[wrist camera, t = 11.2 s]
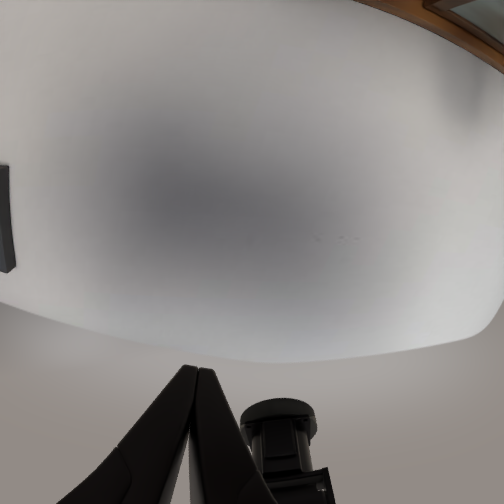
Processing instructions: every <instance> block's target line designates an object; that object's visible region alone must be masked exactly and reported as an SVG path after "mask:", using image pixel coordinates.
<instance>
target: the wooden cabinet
mask: <svg viewBox="0 0 504 504" xmlns="http://www.w3.org/2000/svg"><path fill="white" fill-rule="evenodd" d="M354 1H357V2H360V3H363V4H366V5H369V6H372V7H375V8H378V9H380V10H383V11H386V12H388V13H391V14H393V15H396V16H398V17H401V18H403V19H405V20H408V21H410V22H412V23H415V24H417V25H419V26H421V27H423V28H425V29H427V30H430V31H432V32H434V33H436V34H438V35H440V36H442V37H443V38H445V39H447V40H449V41H451V42H453V43H455V44H456V45H458V46H460V47H462V48H464V49H465V50H467V51H469V52H470V53H472V54H474V55H475V56H477V57H479V58H480V59H482V60H483V61H485V62H486V63H488V64H490V65H491V66H493V67H494V68H496V69H497V70H498V71H500V72H501V73H503V74H504V55H503V54H502V53H500V52H499V51H498V50H496V49H495V48H493V47H492V46H490V45H489V44H488V43H486V42H485V41H483V40H481V39H480V38H478V37H477V36H475V35H474V34H472V33H470V32H469V31H467V30H465V29H464V28H462V27H460V26H459V25H457V24H455V23H453V22H452V21H450V20H448V19H446V18H444V17H443V16H441V15H439V14H437V13H435V12H433V11H431V10H429V9H427V8H425V0H354Z"/></svg>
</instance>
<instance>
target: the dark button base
mask: <svg viewBox="0 0 504 504" xmlns="http://www.w3.org/2000/svg"><path fill="white" fill-rule="evenodd" d="M15 266H16V264H15V257H14V250H13V242H12V233H11V222H10V209H9V186H8V166H1V165H0V272H4V273H9V272H10V271H11V270H12V269H13V268H14V267H15Z"/></svg>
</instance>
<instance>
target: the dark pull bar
mask: <svg viewBox="0 0 504 504" xmlns="http://www.w3.org/2000/svg"><path fill="white" fill-rule="evenodd" d="M425 8H427V9H429V10H431V11H433V12H435V13H437V14H439V15H441V16H443V17H444V18H446V19H448V20H450V21H452V22H453V23H455V24H457V25H459V26H460V27H462V28H464V29H465V30H467V31H469V32H470V33H472V34H474V35H475V36H477V37H478V38H480V39H481V40H483V41H485V42H486V43H488V44H489V45H490V46H492V47H493V48H495V49H496V50H498V51H499V52H500V53H502V54H503V55H504V0H425Z"/></svg>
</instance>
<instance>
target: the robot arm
mask: <svg viewBox="0 0 504 504" xmlns="http://www.w3.org/2000/svg"><path fill="white" fill-rule="evenodd" d="M189 429H190V430H189ZM244 429H245V432H246V435H247V439H248V442H249V445H250V448H251V452H252V455H251V453H250V451H249V448H248V446H247V444H246V442H245V440H244V438H243V436H242V433H241V431H240V429H239V427H238V425H237V422H236V420H235V418H234V416H233V413H232V411H231V409H230V407H229V404H228V402H227V400H226V397H225V395H224V393H223V390H222V388H221V385H220V383H219V381H218V378H217V376H216V373H215V371H214V370H213V369H208V368H202V367H201V368H199V370H198V367H196V366H190V365H183V366H182V367H181V368H180V369H179V371H178V372H177V373H176V374H175V376H174V377H173V378H172V379H171V380H170V382H169V383H168V384H167V385H166V387H165V388H164V389H163V390H162V392H161V393H160V394H159V395H158V396H157V398H156V399H155V400H154V401H153V403H152V404H151V405H150V406H149V408H148V409H147V410H146V411H145V413H144V414H143V415H142V416H141V417H140V419H139V420H138V421H137V422H136V423H135V424H134V426H133V427H132V428H131V429H130V430H129V432H128V433H127V434H126V435H125V437H124V438H123V439H122V440H121V441H120V443H119V444H118V445H117V447H115V448H114V449H113V451H112V452H111V453H110V454H109V455H108V457H107V458H106V459H105V460H104V461H103V462H102V463H101V464H100V465H99V466H98V467H97V469H96V470H95V471H93V472H92V473H91V474H90V475H89V476H88V477H87V478H86V479H85V480H84V481H83V482H82V483H80V484H79V485H78V486H77V487H76V488H74V489H73V490H72V491H71V492H70V493H68V494H67V495H66V496H65V497H64V498H63V499H61V500H60V501H59V502H58V503H56V504H170V502H171V499H172V495H173V491H174V487H175V484H176V480H177V477H178V473H179V469H180V465H181V462H182V459H183V455H184V451H185V448H186V444H187V440H188V435H189V479H190V500H191V501H190V502H191V504H336V503H335V498H334V494H333V489H332V485H331V480H330V476H329V471H328V467H326V468H322V469H320V470H315V471H313V469H312V463H311V456H310V450H309V446H310V430H311V419H310V415H308V414H304V415H297V416H290V417H282V418H274V419H264V420H254V421H246V422H245V423H244ZM322 489H324V491H322ZM318 490H320V491H318Z"/></svg>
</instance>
